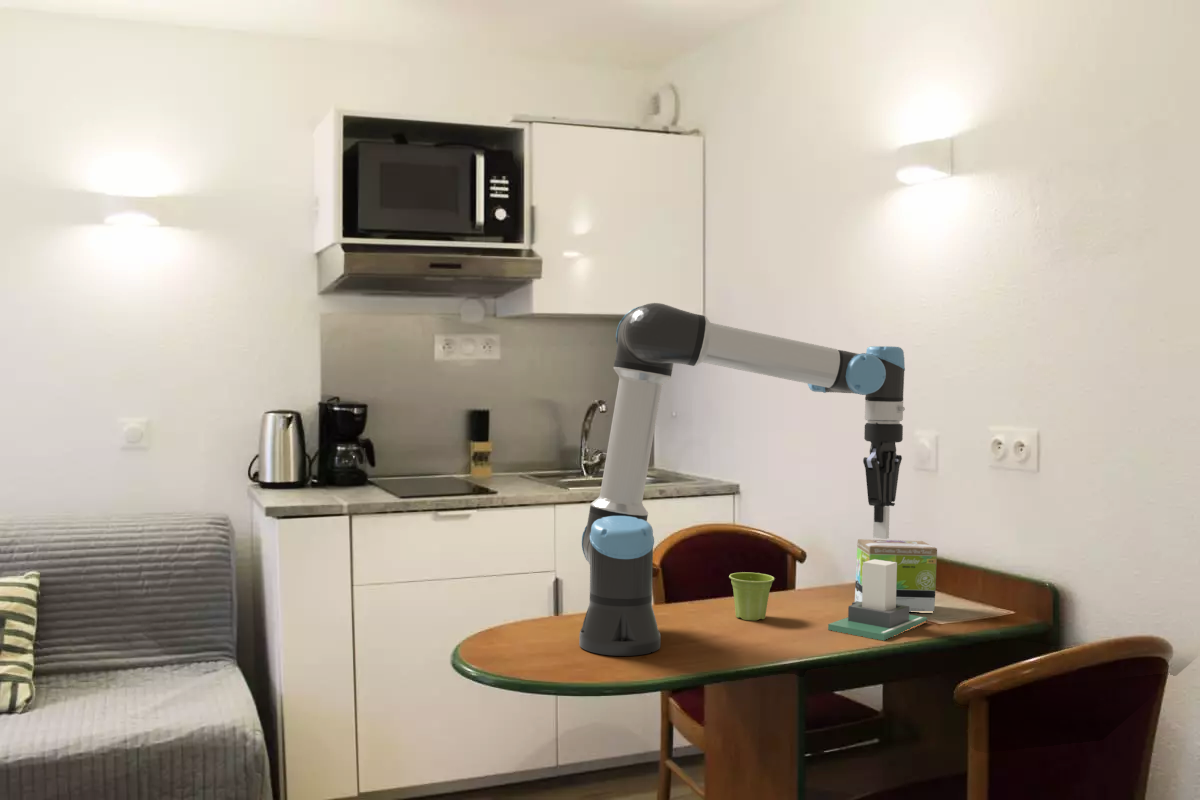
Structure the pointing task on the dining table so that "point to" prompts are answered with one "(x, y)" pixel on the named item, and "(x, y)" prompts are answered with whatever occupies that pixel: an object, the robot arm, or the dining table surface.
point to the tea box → (903, 570)
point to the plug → (879, 584)
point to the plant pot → (751, 594)
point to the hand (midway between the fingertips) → (881, 537)
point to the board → (876, 621)
